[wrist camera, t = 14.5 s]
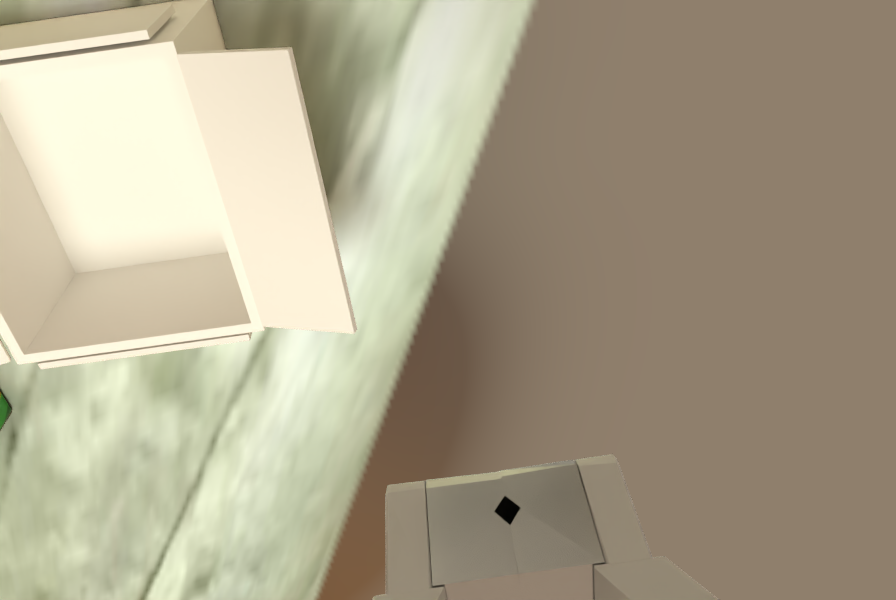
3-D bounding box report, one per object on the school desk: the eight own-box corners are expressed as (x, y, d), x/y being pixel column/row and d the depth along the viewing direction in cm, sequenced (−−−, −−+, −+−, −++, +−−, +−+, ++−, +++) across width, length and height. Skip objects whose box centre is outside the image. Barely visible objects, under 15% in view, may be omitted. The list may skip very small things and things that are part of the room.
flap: (176, 54, 33) (287, 50, 32) (181, 51, 34) (291, 46, 32) (262, 326, 42) (354, 333, 40) (265, 322, 42) (357, 328, 41)
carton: (-50, 20, 41) (-147, 71, 33) (207, -16, 41) (168, 27, 33) (75, 286, 50) (22, 372, 43) (284, 257, 50) (267, 338, 43)
